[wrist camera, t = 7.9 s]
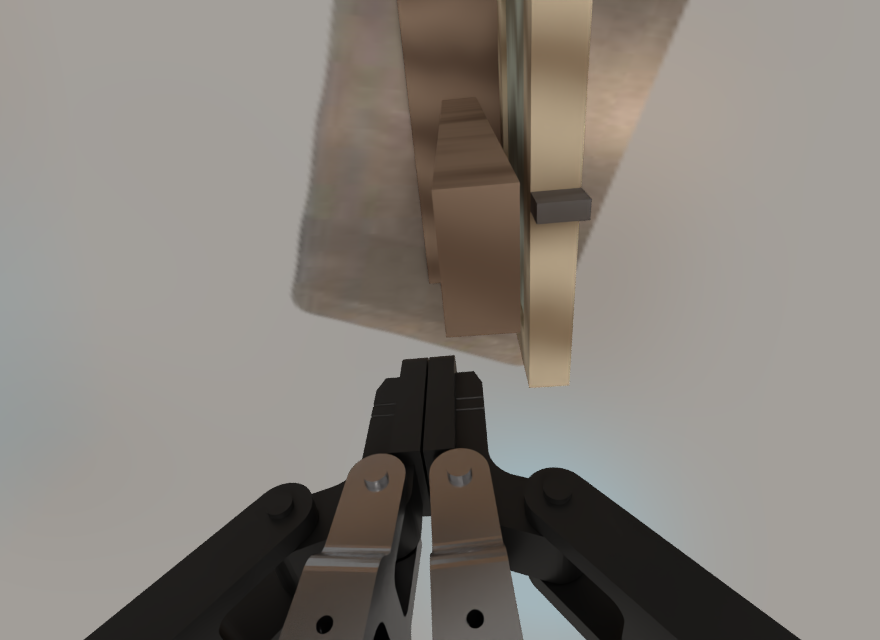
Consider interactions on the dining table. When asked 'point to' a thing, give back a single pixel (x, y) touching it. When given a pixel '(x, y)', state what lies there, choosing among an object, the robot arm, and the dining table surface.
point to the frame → (546, 167)
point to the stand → (463, 163)
